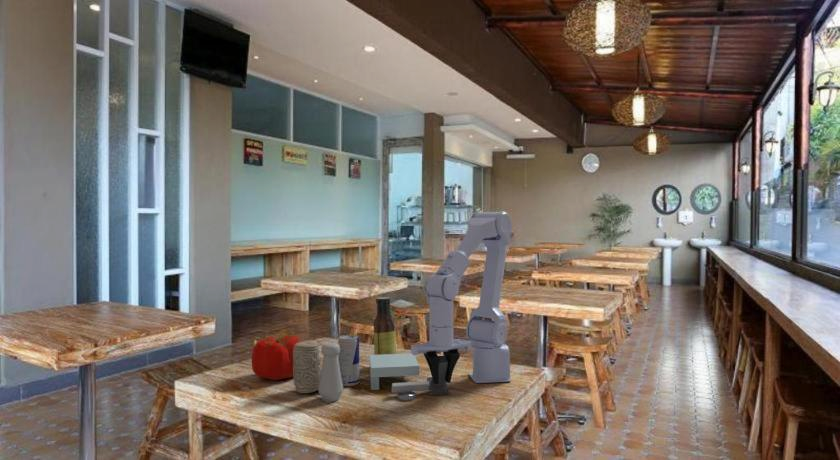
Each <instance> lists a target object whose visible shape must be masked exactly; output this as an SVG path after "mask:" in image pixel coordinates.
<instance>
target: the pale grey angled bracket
mask: <svg viewBox="0 0 840 460" xmlns="http://www.w3.org/2000/svg"><path fill="white" fill-rule="evenodd" d="M405 376H406V377H407V376H420V364H419V362H418V360H417V357H416V355H413V354H411V352H410V353H396V354H383V355H375V354H369V381H370V390H371V391H378V390H380V378H382V377H405Z"/></svg>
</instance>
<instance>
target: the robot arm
mask: <svg viewBox="0 0 840 460" xmlns="http://www.w3.org/2000/svg"><path fill="white" fill-rule="evenodd" d="M467 221H468V222H467V224H468V225H467V226H468V229H467V231H466V233H465V235H464V237H463V238H462V240H461V242H460V244H459V246H458V247H457V249H456V250H452V251H449V252H448V253H447V255H446V258H445V259H444V260H443V261H442V264H441V265H440V266H439V268H438V269H437V271H436V272H435V273H433V274H431V275H430V276H428V277H427V278H426V279H425V283H424V286H423V291H424V295H425V296H426V304H428V307H429V308H428V312H429V313H428V314H429V315H428V319H429V320H428V322H429V323H428V324H429V328H428V329H429V331H428V333H429V336H428V337H429V342H428V341H427V342H423V343H418V344H411V345H410V353H411V354H413V355H415V356H418V355H423V356H424V358H425V360H426V362H427V365H428V367H429V370H430V373H431V374H430V375H431V377H432V380H433V383H434V384H438V382H439V376H438V368H439V360H440V358H439V357H438V356H439V355H438V353H443V355H442V356H446V359H447V361H448V364H447V371H446V377H445V381H446V382H447V384H450V383H451V380H452V378H453V377H452V376H453V373H454V369H455V367H456V365H457V363H458V361H459V359H460V356H461V354H460V351H471V350H472V371H470V372H468V375H469V377H470V378H471V379H472V381H473V382H474V383H475V384H483V383H485V384H486V383H487V384H488V383H506V382H511V381H512V380H511V354H510V348H509V346H508V345H507V344H505V342H506V340H507V337H508V327H507V326H508V325H507V321H508V320H507V317H506V316H505V314H504V313H503V312H502V311H501V310H500V302H501V297H502V296H501V294H502V287H503V279H504V273H505V266H506V258H507V251H508V246H509V244H510V243H511V242H510V241H511V238H512V229H513V221H512V220H511V217H510V215H509V213H508V212H507V211H503V210H502V211H489V212H488V211H486V212H485V211H483V212H481V211H475V212H473V213H472V214H471V216H470V218H469V219H468V220H467ZM480 243H481V244H482V245H484V246H485V248H486V254H485V262H484V268H483V269H484V270H483V276H482V284H481V289H480V297H479V305H478V306H477V307H476V308H475V309H474V310H472V311H471V312H470V314H469V315H470V316H469V319H468V322H467V323H466V326H465V334H466V338H467V339H468V340H454V338H455V337H454V330H455V329H454V300H455V298H456V297H457V296H458V295H459V292H460V291H459V290H460V285H461V280H462V278H463V276H464V274H465V273H466V271H467V269H468V268H469V267H470V264H471V263H470V259H469V258H470V257H471V256H472V254H473V253H474V251H475V250H476V249H477V248H478V247H479V245H480ZM485 318H486V319H485ZM489 319H490V320H489Z"/></svg>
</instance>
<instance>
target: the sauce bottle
mask: <svg viewBox="0 0 840 460" xmlns="http://www.w3.org/2000/svg"><path fill="white" fill-rule="evenodd" d="M375 302H376V316H375V318H374V321H373V346H374V347H373V348H374V352H373V353H374V355H383V354H397V339H396V338H397V335H396V334H397V333H396V324H395V322H394V318H393V317H392V312H391V297H390V296H379V297H376V299H375Z"/></svg>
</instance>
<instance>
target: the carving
mask: <svg viewBox="0 0 840 460" xmlns="http://www.w3.org/2000/svg"><path fill="white" fill-rule="evenodd" d="M319 345H320V344H319V343H318V342H317V341H315V340H303V341H300V342H298V343H296V344H295V345H294V346H295V347H294V348H293V349H294V350H293V377H292V378H293V382H294V383H293V385H294V387H295V388H294V389H295V391H296V392H297V393H299V394H310V393H314V392H316V391H319V390H318V388H319V382H320V376H321V370H322V364H321V356H320V346H319Z"/></svg>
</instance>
